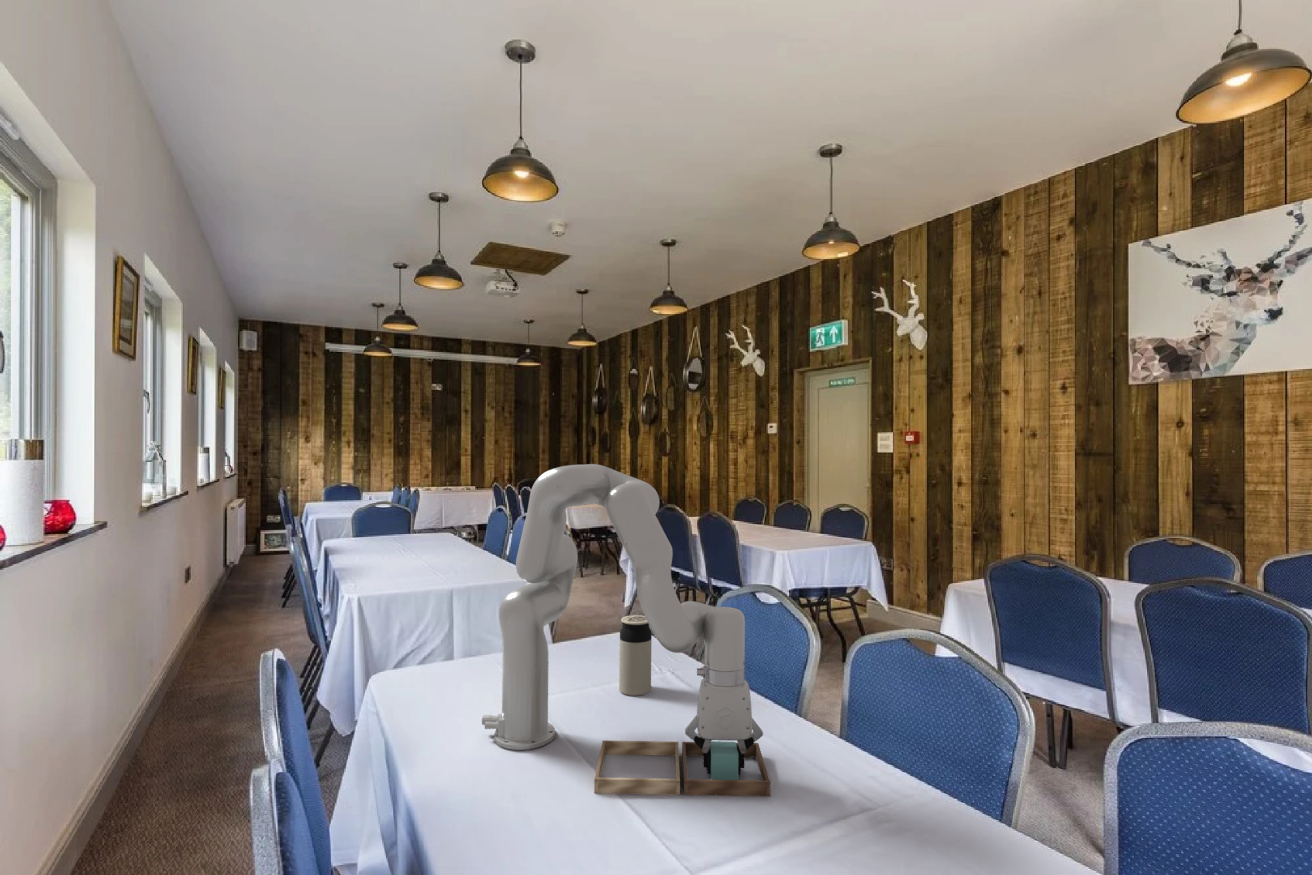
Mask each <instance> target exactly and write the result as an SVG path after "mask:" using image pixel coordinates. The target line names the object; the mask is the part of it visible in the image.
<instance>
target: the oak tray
mask: <svg viewBox="0 0 1312 875" xmlns="http://www.w3.org/2000/svg"><path fill="white" fill-rule="evenodd" d="M606 755H611V756H612V755H620V756H623V755H625V756H673V757H674V758H675V759H674V760H675V763H674V764H675V765H674V766H675V778H651V777H650V778H649V777H648V778H646V777H645V778H642V777H602V772H603V768H604V762H605V757H606ZM595 769H596V771H595V775H594V778H593V779H594V780H593V785H594V787H593V793H594V794H609V795H613V794H615V795H616V794H617V795H619V794H621V795H669V796H670V795H673V796H675V795H676V796H677V795H678V796H680V795H681V792H680V790H681V777H680V776H681V775H680V751H679V741H656V740H655V741H651V740H649V741H648V740H608V739H607V740H603V739H602V743H601V746H600V751H599V756H598V760H597V764H596V768H595Z"/></svg>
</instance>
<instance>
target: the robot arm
mask: <svg viewBox="0 0 1312 875" xmlns="http://www.w3.org/2000/svg"><path fill="white" fill-rule="evenodd" d="M592 504H594V505H598V506H601V507H602V508H605V511H606V513H607V516H608V518H609V520H610V522H611V524H612V526H613V528H614V530H615V533H616V535H617V537H618V538H619V541H620V542H621V545H622V547H623V548H624V550H625V552H626V555H627V557H628V558H629V560H630V563H631V565H632V567H633V570H634V581H635V585H636V586H635V587H636V592H637V596H638V602H639V605H640V608H641V610H642V613H643V616H645V617H646V619H647V621H648V623H649V628H650V630H651V632H652V633H653V635H654V636H655V638H656V640H657V641H658V643H660V645H661V647H662V648H664V649H665V650H666V651H668V652H671V653H675V654H676V653H677V654H680V653H684V652H687V651H688V650H690V649H691V648H692V647H693V646H695V644H696V643H697V642H700V641H704V663H703V664H704V665H703V666H702V667H700V668H699V667H697V668H696V676H700V677H702V679H701V681H700V685H699V689H698V698H697V710H696V715H695V716H694V717H693V719H692V720H691V721H690V723H689V724H688V725H687V726H686V728H684V733H685V735H686V736H687V737H688V738H689V739H690V740H692V742H695V743H696V744H697V745H698V746H699V747H700V748H701V749H702V751H703V756H702V768H703V769H706V775H707V776H708V775H709V776H710V774H711V751H710V744H711V742H713V741H737V742H736V743H738V745H737V750H738V776H742V769H745V753H746V750H747V749H748V748H750V747H751V746H752V745H753V744H754V743H756V741H758V740H759V739H760V738H762V737H763V736H764V732H763V730H762V728H761V727H760V726H759V725H758V723H757V722H756V721H755V719H754V718H753V714H752V712H753V711H752V700H751V690H750V685H749V682H748V681H747V680H746V679H745V664H746V663H745V660H746V659H745V657H746V656H745V652H746V651H745V649H746V647H745V645H746V641H745V639H746V638H745V636H746V630H745V629H746V628H745V627H746V621H745V620H746V619H745V615H744V613H743V611H742V610H740V609H738V608H735V607H729V606H713V605H709V604H705V603H702V602H698V601H695V600H694V601H693V600H692V601H691V600H687V601H683V602H682V603H681V601H680V600H679V598H678V595H677V593H676V590H675V588H674V584H673V579H672V563H673V562H672V561H673V547H672V545H671V543H670V541H669V539H668V537H667V535H666V533H665V531H664V529H663V527H662V524H660V521H659V519H658V516H656V515H657V513H658V511H659V508H660V497H659V494H658V491H656V488H655V487H653V486H652V484H649V483H648V482H646V481H643V480H641V479H638V478H636V477H633V476H631V475H628V474H625V473H623V472H620V471H617V470H615V469H613V468H611V467H607V466H605V465H601V464H594V463H589V464H587V463H586V464H570V465H562V466H559V467H555V468H551V469H549V470H547V471H544V472H543V473H542V474H541V475H539V476H538V478H537V479H536V480H535V482H534V483H533V485H532V487H531V490H530V494H529V499H528V506H527V512H526V516H525V520H524V524H523V527H522V533H521V535H520V536H521V537H520V541H519V546H518V551H517V555H516V560H515V569H516V572H517V573H516V574H517V576H518V577H519V578H520V579H521V580H522V581H524V582H526V583H528V584H525V585H522V586H520V587H517V588H516V589H513V590H512V591H510V592H508V594H506V596H505V597H504V598H503V599H502V601H501V602H500V606H499V609H498V623H499V628H500V633H501V634H500V635H501V642H502V644H501V645H502V681H501V682H502V684H501V685H502V686H501V687H502V688H501V689H502V690H501V691H502V696H501V698H502V699H501V713H498V714H497V715H491V714H490V715H489V714H483V715H482V719H481V725H482V726H484V729H485V730H493V729H495V731H494V735H493V737H494V738H493V740H494V742H495V743H496V745H497V746H499V747H502V748H504V749H507V750H515V751H523V750H524V751H525V750H527V751H528V750H533V749H534V750H535V749H537V748H541V747H543V746H545V745H547V744H549V743H550V742H552V741H553V739H554V738H555V737H556V727H555V726H554V725H553V724H552V723H550V722H549V664H550V663H549V645H548V640H547V638H546V635H545V630H544V629H545V628H544V627H545V626H547V625H549V624H551V623H553V622H554V621H556V620H558V619H559V618H560V617H561V616H563V614H564V612H565V611H566V609H567V607H568V604H569V602H570V601H569V600H570V597H571V593H572V587H573V584H574V580H575V576H576V575H575V574H576V570H577V565H578V561H579V560H578V557H579V556H578V549H577V546H576V543H575V542H574V541H573V539H572V538H571V537H570V536H568V535H567V534H565V531H566V527H567V521H568V520H567V519H568V518H567V509H568V508H572V507H580V506H587V505H592ZM696 729H697V731H695V730H696Z"/></svg>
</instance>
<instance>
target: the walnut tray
mask: <svg viewBox="0 0 1312 875" xmlns="http://www.w3.org/2000/svg"><path fill="white" fill-rule="evenodd" d="M737 745H738V742H736V746H737ZM681 748H682V749H681V756H682V757H681V758H682V759H681V760H682V776H683V777H682V779H683V795H684V796H719V797H720V796H721V797H722V796H726V797H727V796H728V797H729V796H730V797H771V781H770V776H769V774H768V771H767V768H766V764H765V762H764V761H765V760H764V757H763V754H762V750H761V747H760V744H759V742H754V744H753V745H752V746H751V747H750V748H748V749H747V750H746V753H745V757H746V758H755V760H756V763H757V767H758V771H759V774H760V777H761V780H759V779H758V780H756V779H755V780H754V779H753V780H751V779H738V780H711V779H702V778H701V779H699V778H697V779H696V778H694V779H693V778H688V765H687V764H688V763H687V757H689V756H690V757H703V751H702V749H701V748H700V747H699V746H698V745H697V744H696V743H695V742H694V741H682V743H681Z"/></svg>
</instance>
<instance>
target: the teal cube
mask: <svg viewBox="0 0 1312 875" xmlns="http://www.w3.org/2000/svg"><path fill="white" fill-rule="evenodd" d="M736 743H737V742H736V741H711V744H710V751H711V774H710V775H709V776H710V780H739V775H738V750H737V746H736Z"/></svg>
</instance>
